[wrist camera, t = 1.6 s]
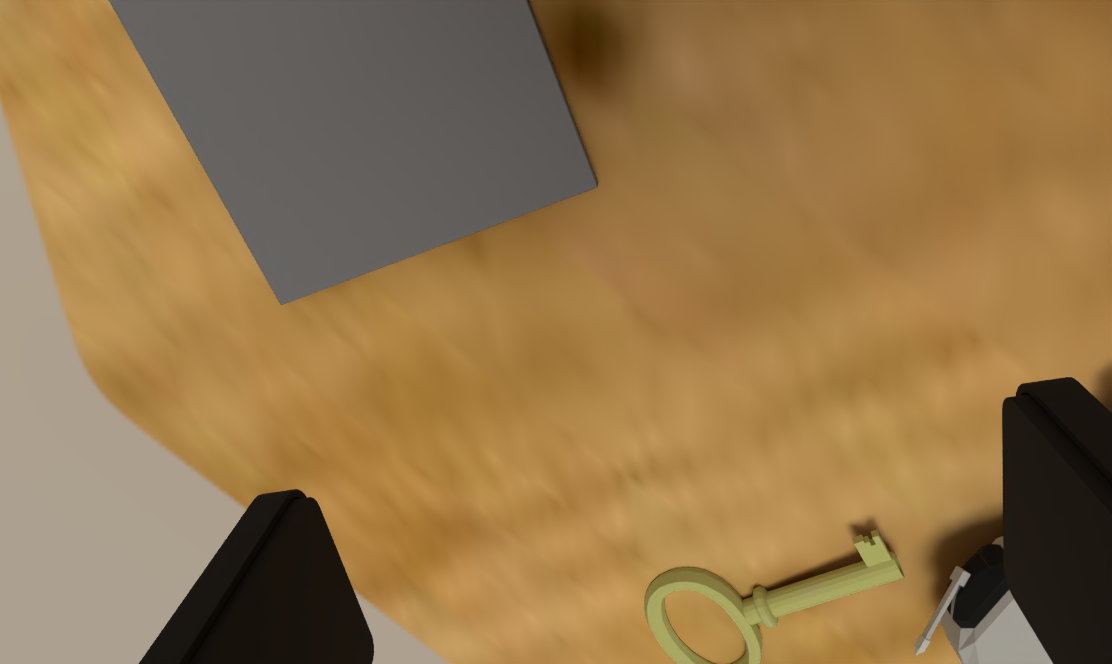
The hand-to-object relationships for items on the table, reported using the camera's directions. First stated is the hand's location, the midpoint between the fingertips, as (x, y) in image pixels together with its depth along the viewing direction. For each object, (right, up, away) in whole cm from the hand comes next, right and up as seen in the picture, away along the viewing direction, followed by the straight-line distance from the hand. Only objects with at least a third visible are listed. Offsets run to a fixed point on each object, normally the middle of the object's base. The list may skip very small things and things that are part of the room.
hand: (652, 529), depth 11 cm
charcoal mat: (-9, +12, +19) cm, 24 cm away
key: (+9, -10, +28) cm, 31 cm away
